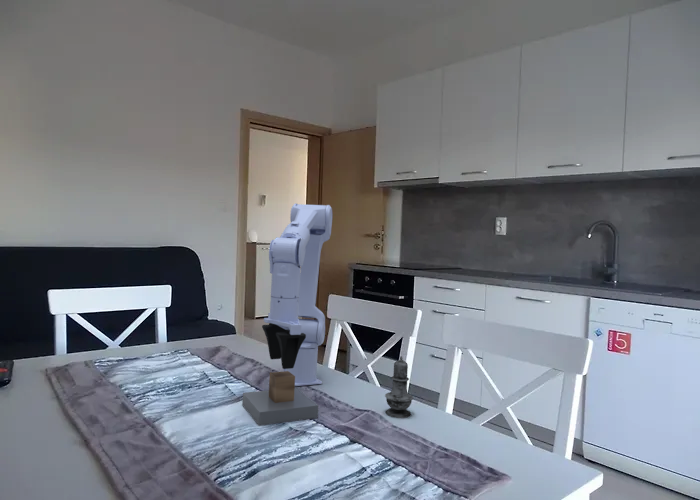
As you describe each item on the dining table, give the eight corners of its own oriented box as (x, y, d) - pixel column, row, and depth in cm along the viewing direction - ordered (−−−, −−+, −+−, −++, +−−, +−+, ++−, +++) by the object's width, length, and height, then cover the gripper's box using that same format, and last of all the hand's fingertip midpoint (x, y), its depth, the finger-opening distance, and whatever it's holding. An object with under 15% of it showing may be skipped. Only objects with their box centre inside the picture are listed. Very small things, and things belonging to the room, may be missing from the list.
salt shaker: (411, 420, 98) (414, 360, 98) (382, 416, 99) (385, 358, 99) (413, 410, 104) (416, 354, 103) (385, 407, 105) (389, 351, 105)
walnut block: (268, 396, 100) (269, 372, 100) (286, 394, 102) (288, 371, 101) (275, 402, 96) (276, 377, 96) (293, 400, 98) (295, 376, 98)
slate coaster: (242, 404, 101) (242, 392, 101) (296, 398, 107) (296, 387, 107) (258, 425, 91) (259, 412, 91) (317, 417, 96) (318, 405, 96)
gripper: (255, 292, 103) (252, 356, 103) (277, 301, 90) (274, 374, 90) (287, 292, 106) (283, 354, 106) (312, 301, 93) (309, 371, 94)
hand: (281, 363), depth 99 cm, fingers open, 7 cm apart
